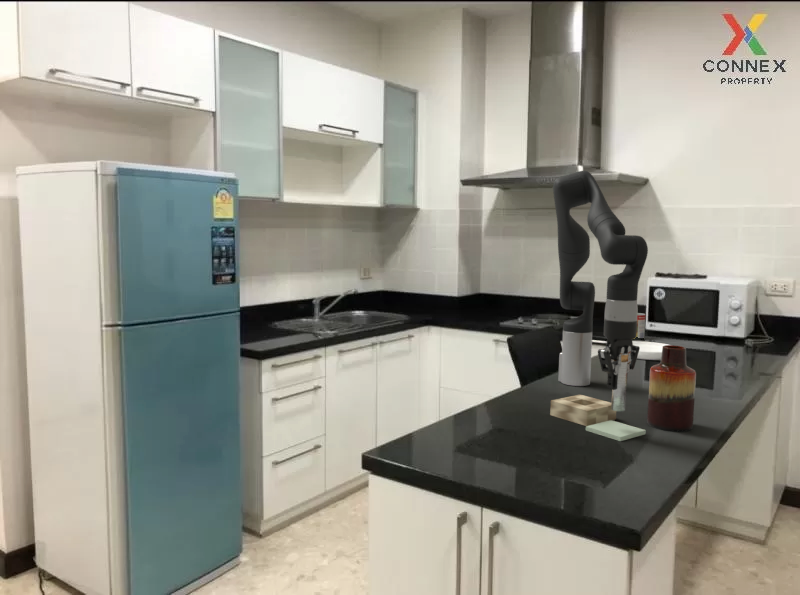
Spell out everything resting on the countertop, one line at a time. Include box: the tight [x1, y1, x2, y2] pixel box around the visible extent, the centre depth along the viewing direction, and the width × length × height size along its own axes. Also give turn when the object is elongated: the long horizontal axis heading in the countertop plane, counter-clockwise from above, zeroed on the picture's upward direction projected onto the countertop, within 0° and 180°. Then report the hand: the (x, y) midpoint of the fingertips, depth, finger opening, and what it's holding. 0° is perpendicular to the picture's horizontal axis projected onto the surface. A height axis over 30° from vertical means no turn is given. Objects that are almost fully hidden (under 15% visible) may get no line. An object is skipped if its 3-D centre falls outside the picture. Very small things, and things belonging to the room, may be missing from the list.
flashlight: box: [610, 353, 628, 412], centre depth 156 cm, size 3×3×14 cm
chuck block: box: [549, 394, 617, 427], centre depth 171 cm, size 12×12×4 cm
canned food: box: [636, 312, 647, 339], centre depth 303 cm, size 8×8×12 cm
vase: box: [646, 344, 697, 433], centre depth 164 cm, size 11×11×20 cm
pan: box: [592, 339, 669, 361], centre depth 264 cm, size 25×39×4 cm, turn 60°
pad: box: [585, 420, 646, 442], centre depth 158 cm, size 10×10×1 cm
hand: (617, 387), depth 157 cm, fingers closed on flashlight, 3 cm apart
